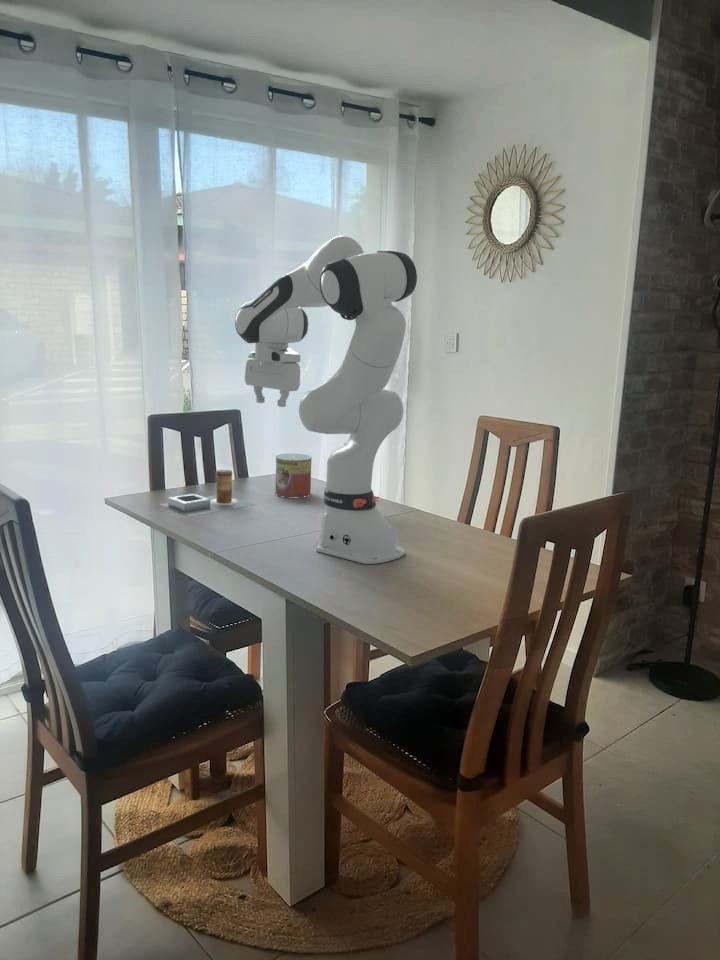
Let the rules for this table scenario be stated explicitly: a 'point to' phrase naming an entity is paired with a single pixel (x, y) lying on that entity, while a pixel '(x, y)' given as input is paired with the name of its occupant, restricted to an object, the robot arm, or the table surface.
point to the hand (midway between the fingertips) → (270, 404)
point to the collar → (189, 502)
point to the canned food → (293, 475)
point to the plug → (224, 486)
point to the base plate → (214, 506)
